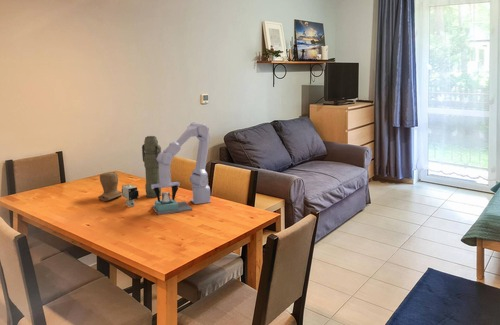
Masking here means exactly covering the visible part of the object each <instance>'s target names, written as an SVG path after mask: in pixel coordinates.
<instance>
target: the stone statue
mask: <svg viewBox="0 0 500 325" xmlns="http://www.w3.org/2000/svg"><path fill="white" fill-rule="evenodd" d="M143 142H144V143H143V144H142V146H141V156H142V162H143V163H144V164H143V166H144V168H145V185H144V186H145V187H144V188H145V196H146V198H150V199H151V198H152V199H155V198H156V199H157V196H156V193H155V191H154V189H152V188H151V185H153V184H158V183H160V176H159V163H158V161H157V159H156V158H157V156H158V154H159V153H162V147H161V146H160V144H159V142H158V138H157V136H155V135H148V136H145V137H144V141H143ZM159 190H160V197H162V188H159Z"/></svg>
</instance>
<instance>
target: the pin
mask: <svg viewBox="0 0 500 325" xmlns="http://www.w3.org/2000/svg"><path fill="white" fill-rule="evenodd" d="M170 199H171V194H170V192H169V191H168V192H167V191H164V192H161V200H162V204H170Z"/></svg>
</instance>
